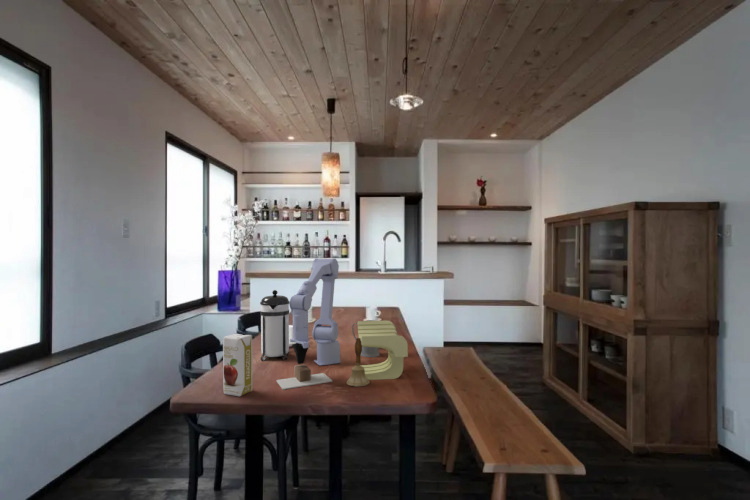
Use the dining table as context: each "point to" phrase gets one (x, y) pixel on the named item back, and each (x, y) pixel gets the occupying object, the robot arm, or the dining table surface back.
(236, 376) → the juice carton
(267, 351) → the coffee press
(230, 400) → the dining table surface
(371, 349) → the glass holder
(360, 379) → the hand bell
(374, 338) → the slatted curved stool
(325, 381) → the felt mat
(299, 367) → the walnut block
